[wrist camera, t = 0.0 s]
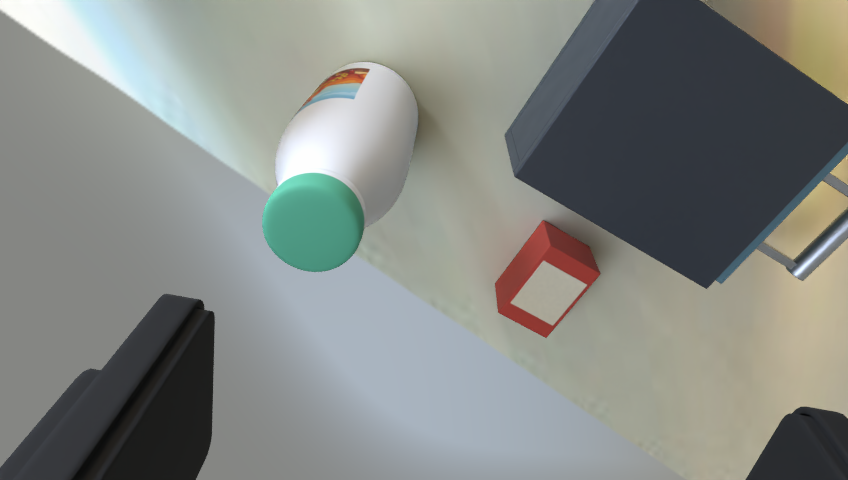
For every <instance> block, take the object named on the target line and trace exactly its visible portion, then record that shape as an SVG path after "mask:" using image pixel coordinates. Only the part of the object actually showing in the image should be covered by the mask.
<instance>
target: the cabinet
mask: <svg viewBox="0 0 848 480" xmlns="http://www.w3.org/2000/svg"><path fill="white" fill-rule="evenodd" d="M505 139H506V143H507V148H508V152H509V156H510V160H511V165H512V169H513V173H514V176H515V177H516V178H518V179H519V180H521V181H523V182H524V183H526V184H528V185H530V186H531V187H533V188H535V189H536V190H538V191H540V192H542V193H543V194H545V195H547V196H548V197H550V198H552V199H554V200H555V201H557V202H559V203H560V204H562V205H564V206H566V207H567V208H569V209H571V210H572V211H574V212H576V213H578V214H579V215H581V216H583V217H584V218H586V219H588V220H589V221H591V222H593V223H595V224H596V225H598V226H600V227H601V228H603V229H605V230H607V231H608V232H610V233H612V234H613V235H615V236H617V237H619V238H620V239H622V240H624V241H625V242H627V243H629V244H631V245H632V246H634V247H636V248H637V249H639V250H641V251H643V252H644V253H646V254H648V255H649V256H651V257H653V258H654V259H656V260H658V261H660V262H661V263H663V264H665V265H666V266H668V267H670V268H672V269H673V270H675V271H677V272H678V273H680V274H682V275H684V276H685V277H687V278H689V279H690V280H692V281H694V282H696V283H697V284H699V285H701V286H702V287H704V288H706V289H707V288H708V287H709V286H710V285H711V284H712V283H713V282H714V281H715V280H716V279H717V278H718V277H719V276H720V275H721V274H722V273H723V272H724V270H725V269H726V268H727V267H728V266H729V265H730V264H731V263H732V262H733V261H734V260H735V259H736V258H737V257H738V256H739V255H740V254H741V253H742V252H743V251H744V250H745V249H746V248H747V247H748V246H749V244H750V243H751V242H752V241H753V240H754V239H755V238H756V237H757V236H758V235H759V234H760V233H761V232H762V231H763V230H764V229H765V228H766V227H767V226H768V225H769V224H770V223H771V222H772V221H773V220H774V218H775V217H776V216H777V215H778V214H779V213H780V212H781V211H782V210H783V209H784V208H785V207H786V206H787V205H788V204H789V203H790V202H791V201H792V200H793V199H794V198H795V197H796V196H797V195H798V194H799V192H800V191H801V190H802V189H803V188H804V187H805V186H806V185H807V184H808V183H809V182H810V181H811V180H812V179H813V178H814V177H815V176H816V175H817V174H818V173H819V172H820V171H821V170H822V169H823V168H824V166H825V165H826V164H827V163H828V162H829V161H830V160H831V159H832V158H833V157H834V156H835V155H836V154H837V153H838V152H839V151H840V150H841V149H842V148H843V147H844V146H845V145H846V144H847V143H848V104H847V103H845V102H844V101H842V100H841V99H839V98H838V97H837V96H835V95H834V94H832V93H831V92H829V91H828V90H827V89H825V88H824V87H822V86H821V85H819V84H818V83H817V82H815V81H814V80H812V79H811V78H809V77H808V76H807V75H805V74H804V73H802V72H801V71H799V70H798V69H797V68H795V67H794V66H792V65H791V64H790V63H788V62H787V61H785V60H784V59H782V58H781V57H780V56H778V55H777V54H775V53H774V52H772V51H771V50H770V49H768V48H767V47H765V46H764V45H762V44H761V43H760V42H758V41H757V40H755V39H754V38H752V37H751V36H750V35H748V34H747V33H745V32H744V31H742V30H741V29H740V28H738V27H737V26H735V25H734V24H732V23H731V22H730V21H728V20H727V19H725V18H724V17H722V16H721V15H720V14H718V13H717V12H715V11H714V10H712V9H711V8H710V7H708V6H707V5H705V4H704V3H702V2H701V1H700V0H595V1H594V3H593V4H592V6H591V7H590V9H589V10H588V12H587V13H586V15H585V16H584V18H583V19H582V21H581V22H580V24H579V25H578V27H577V28H576V30H575V31H574V33H573V34H572V36H571V37H570V39H569V40H568V41H567V43H566V44H565V46H564V47H563V49H562V50H561V52H560V53H559V55H558V56H557V58H556V59H555V61H554V62H553V64H552V65H551V67H550V68H549V70H548V71H547V73H546V74H545V76H544V77H543V79H542V80H541V82H540V83H539V85H538V86H537V88H536V89H535V91H534V92H533V94H532V95H531V96H530V98H529V99H528V101H527V102H526V104H525V105H524V107H523V108H522V110H521V111H520V113H519V114H518V116H517V117H516V119H515V120H514V122H513V123H512V125H511V126H510V128H509V129H508V131H507V132H506V134H505Z"/></svg>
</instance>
